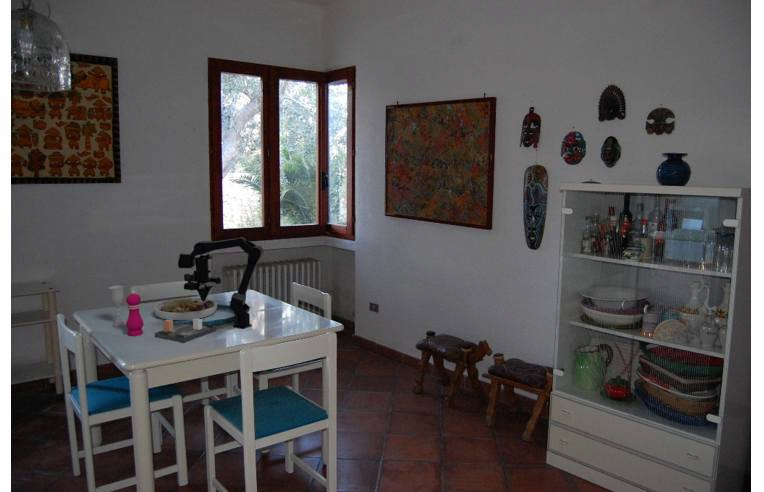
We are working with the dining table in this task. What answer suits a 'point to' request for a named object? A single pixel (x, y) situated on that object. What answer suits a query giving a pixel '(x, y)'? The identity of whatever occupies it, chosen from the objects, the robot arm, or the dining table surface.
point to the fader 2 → (197, 323)
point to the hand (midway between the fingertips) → (203, 301)
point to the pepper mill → (134, 315)
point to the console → (185, 332)
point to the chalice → (117, 301)
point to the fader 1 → (168, 325)
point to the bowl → (185, 308)
